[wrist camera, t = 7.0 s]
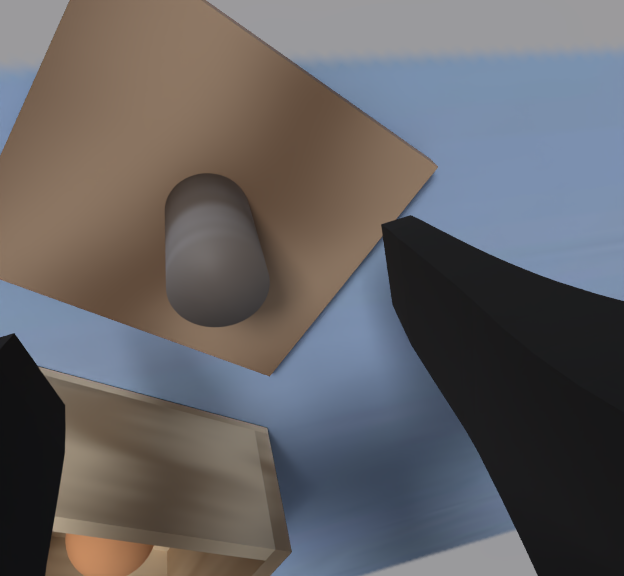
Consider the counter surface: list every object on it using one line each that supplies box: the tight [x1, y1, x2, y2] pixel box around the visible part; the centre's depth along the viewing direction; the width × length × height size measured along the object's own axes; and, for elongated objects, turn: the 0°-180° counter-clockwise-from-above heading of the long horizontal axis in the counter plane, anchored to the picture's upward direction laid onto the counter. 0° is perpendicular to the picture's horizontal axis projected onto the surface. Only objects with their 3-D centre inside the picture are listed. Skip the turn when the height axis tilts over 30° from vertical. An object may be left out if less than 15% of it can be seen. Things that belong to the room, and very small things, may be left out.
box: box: [39, 367, 292, 576], centre depth 19 cm, size 9×8×5 cm
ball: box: [65, 533, 154, 576], centre depth 19 cm, size 3×3×3 cm
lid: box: [0, 0, 438, 376], centre depth 14 cm, size 10×9×5 cm
